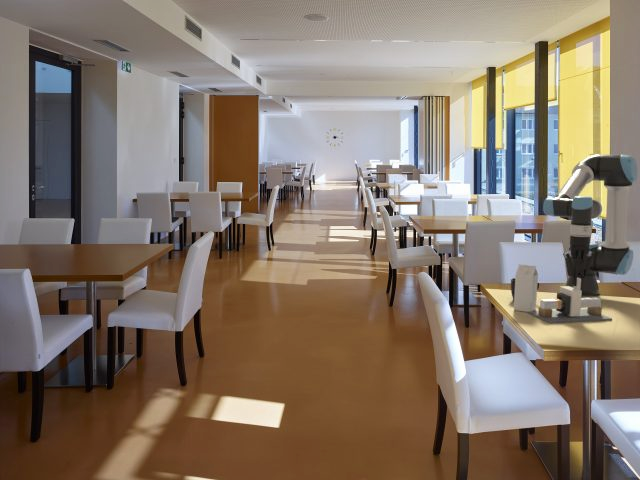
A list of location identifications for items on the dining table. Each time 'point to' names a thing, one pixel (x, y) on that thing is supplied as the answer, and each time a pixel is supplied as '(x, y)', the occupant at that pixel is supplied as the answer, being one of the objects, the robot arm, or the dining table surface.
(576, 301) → the sleeve
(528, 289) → the milk carton
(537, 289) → the mug
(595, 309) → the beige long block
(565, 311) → the ring
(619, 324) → the dining table surface
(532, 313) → the board
